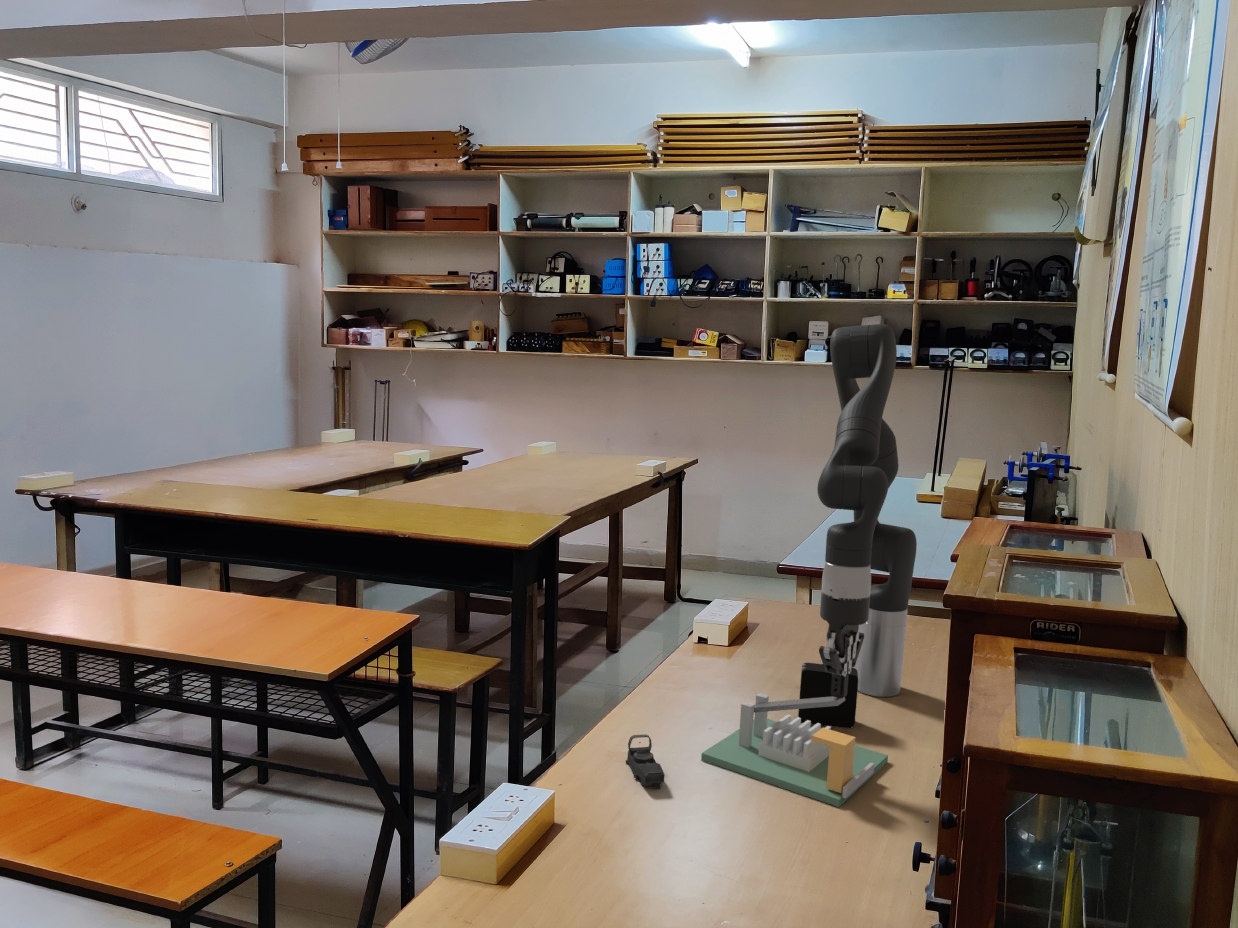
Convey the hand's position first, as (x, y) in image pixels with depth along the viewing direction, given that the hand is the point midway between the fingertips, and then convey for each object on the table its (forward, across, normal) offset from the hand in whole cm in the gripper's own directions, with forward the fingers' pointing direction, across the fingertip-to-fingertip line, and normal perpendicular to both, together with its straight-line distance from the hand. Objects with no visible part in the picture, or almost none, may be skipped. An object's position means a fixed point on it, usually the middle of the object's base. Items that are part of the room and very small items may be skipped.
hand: (838, 695), depth 158 cm
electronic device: (+12, -18, -10) cm, 24 cm away
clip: (+11, +7, +2) cm, 14 cm away
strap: (+3, +1, -7) cm, 8 cm away
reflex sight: (+13, +22, -22) cm, 34 cm away
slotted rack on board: (+12, +1, -6) cm, 14 cm away
